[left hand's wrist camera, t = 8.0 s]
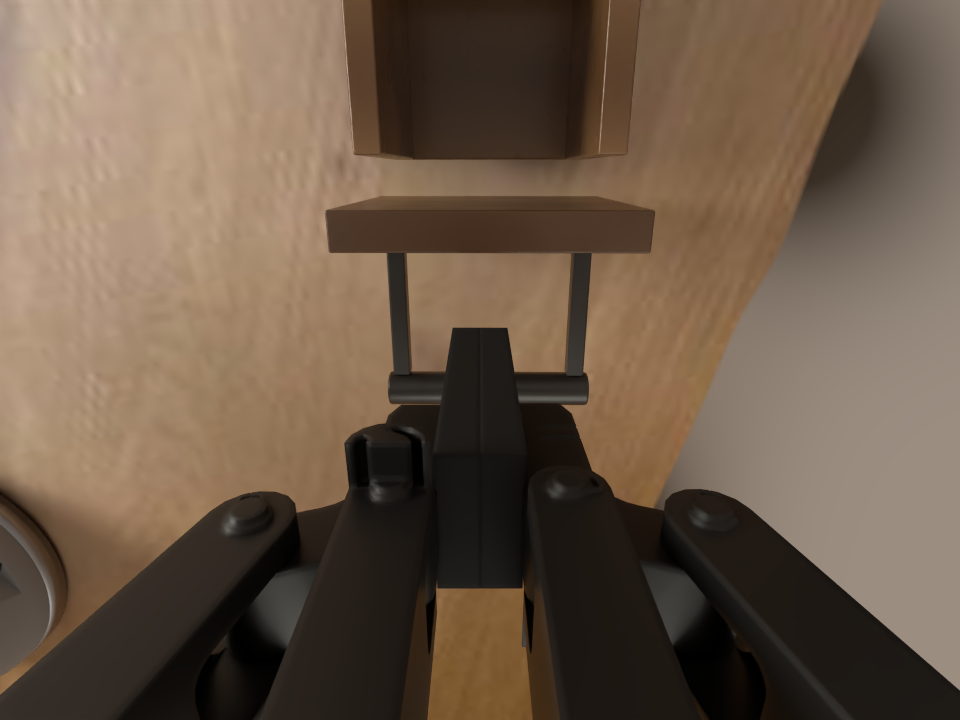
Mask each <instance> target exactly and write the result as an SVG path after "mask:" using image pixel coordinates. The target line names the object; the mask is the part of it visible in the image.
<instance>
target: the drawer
mask: <svg viewBox="0 0 960 720" xmlns="http://www.w3.org/2000/svg"><path fill="white" fill-rule="evenodd" d="M341 3H342V16H343V29H344V42H345V55H346V68H347V81H348V94H349V107H350V119H351V132H352V145H353V153H354V154H355V155H361V156H370V157H379V158H388V159H396V160H581V159H590V158H599V157H609V156H618V155H626V154H627V150H628V138H629V127H630V116H631V105H632V93H633V82H634V71H635V59H636V48H637V37H638V26H639V14H640V3H641V0H341ZM325 217H326V227H327V237H328V247H329V252H330V253H387V266H388V283H389V299H390V316H391V332H392V349H393V365H394V371H392V372H391V373H390V375H389V380H388V397H389V401H390V403H391V404H441V398H442V392H443V386H444V379H445V373H446V372H421V371H411V370H412V358H411V338H410V317H409V296H408V275H407V254H406V253H571V270H570V287H569V304H568V321H567V338H566V355H565V372H514V373H515V379H516V386H517V392H518V398H519V403H559V404H560V405H586V404H587V401H588V396H589V382H588V377H587V374H586V373H585V372H583V366H584V353H585V339H586V325H587V311H588V297H589V283H590V269H591V255H592V253H650V252H651V244H652V235H653V226H654V217H655V211H654V210H650V209H646V208H642V207H638V206H634V205H630V204H626V203H622V202H618V201H613V200H609V199H605V198H601V197H597V196H381V197H377V198H373V199H369V200H365V201H361V202H357V203H353V204H349V205H345V206H341V207H337V208H333V209H329V210H326V211H325Z"/></svg>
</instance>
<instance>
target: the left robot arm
mask: <svg viewBox="0 0 960 720" xmlns="http://www.w3.org/2000/svg"><path fill="white" fill-rule="evenodd" d="M344 444H345V453H346V462H347V472H348V481H349V490H348V493H347V495H346V498H345V500H343V501H341V502H338V503H336V504H333V505H330V506H326V507H323V508H318V509H313V510H308V511H304V512H299V513H296V506H295V503H294V502H293V501H292V500H291V499H290V498H289V497H288V496H286V495H283V494H280V493H277V492H260V491H259V492H252V493H247V494H243V495H240V496H238V497H235V498H233V499H230V500H228V501H225V502H224V503H222V504H221V505H219V506H218V507H216V508H215V509H213V510H212V511H210V512H209V513H208V514H207V515H206V516H204V517H203V518H202V519H201V520H200V521H199V522H198V523H196V524H195V525H194V526H193V527H192V528H191V529H190V530H188V531H187V532H186V533H185V534H184V535H183V536H182V537H180V538H179V539H178V540H177V541H176V542H175V543H174V544H172V545H171V546H170V547H169V548H168V549H167V550H166V551H164V552H163V553H162V554H161V555H160V556H159V557H158V558H156V559H155V560H154V561H153V562H152V563H151V564H150V565H148V566H147V567H146V568H145V569H144V570H143V571H142V572H140V573H139V574H138V575H137V576H136V577H135V578H134V579H132V580H131V581H130V582H129V583H128V584H127V585H126V586H124V587H123V588H122V589H121V590H120V591H119V592H118V593H116V594H115V595H114V596H113V597H112V598H111V599H110V600H108V601H107V602H106V603H105V604H104V605H103V606H102V607H100V608H99V609H98V610H97V611H96V612H95V613H94V614H92V615H91V616H90V617H89V618H88V619H87V620H85V621H84V622H83V623H82V624H81V625H80V626H79V627H77V628H76V629H75V630H74V631H73V632H72V633H71V634H69V635H68V636H67V637H66V638H65V639H64V640H63V641H61V642H60V643H59V644H58V645H57V646H56V647H55V648H53V649H52V650H51V651H50V652H49V653H48V654H47V655H45V656H44V657H43V658H42V659H41V660H40V661H39V662H37V663H36V664H35V665H34V666H33V667H32V668H31V669H29V670H28V671H27V672H26V673H25V674H24V675H23V676H21V677H20V678H19V679H18V680H17V681H16V682H15V683H13V684H12V685H11V686H10V687H9V688H8V689H7V690H5V691H4V692H3V693H2V694H1V695H0V720H427V716H428V705H429V694H430V683H431V672H432V661H433V650H434V639H435V628H436V617H437V604H436V585H437V586H438V588H522V586H523V582H524V604H523V630H522V647H526V649H527V660H528V671H529V682H530V693H531V704H532V715H533V720H960V690H958V689H957V688H956V687H955V686H954V685H953V684H952V683H950V682H949V681H948V680H947V679H946V678H945V677H943V676H942V675H941V674H940V673H939V672H938V671H937V670H935V669H934V668H933V667H932V666H931V665H930V664H928V663H927V662H926V661H925V660H924V659H923V658H922V657H920V656H919V655H918V654H917V653H916V652H915V651H914V650H912V649H911V648H910V647H909V646H908V645H907V644H905V643H904V642H903V641H902V640H901V639H900V638H898V637H897V636H896V635H895V634H894V633H893V632H892V631H890V630H889V629H888V628H887V627H886V626H885V625H884V624H882V623H881V622H880V621H879V620H878V619H877V618H875V617H874V616H873V615H872V614H871V613H870V612H868V611H867V610H866V609H865V608H864V607H863V606H862V605H860V604H859V603H858V602H857V601H856V600H855V599H853V598H852V597H851V596H850V595H849V594H848V593H847V592H845V591H844V590H843V589H842V588H841V587H840V586H839V585H837V584H836V583H835V582H834V581H833V580H832V579H830V578H829V577H828V576H827V575H826V574H825V573H824V572H822V571H821V570H820V569H819V568H818V567H817V566H815V565H814V564H813V563H812V562H811V561H810V560H808V559H807V558H806V557H805V556H804V555H803V554H802V553H800V552H799V551H798V550H797V549H796V548H795V547H794V546H792V545H791V544H790V543H789V542H788V541H787V540H785V539H784V538H783V537H782V536H781V535H780V534H778V533H777V532H776V531H775V530H774V529H773V528H772V527H770V526H769V525H768V524H767V523H766V522H765V521H763V520H762V519H761V518H760V517H759V516H758V515H757V514H755V513H754V512H753V511H752V510H751V509H750V508H748V507H747V506H745V505H744V504H742V503H741V502H739V501H738V500H736V499H734V498H731V497H729V496H726V495H724V494H721V493H719V492H715V491H708V490H703V489H687V490H682V491H679V492H676V493H673V494H672V495H671V496H670V497H669V498H668V499H667V500H666V501H665V506H664V511H662V510H658V509H653V508H648V507H643V506H638V505H635V504H631V503H627V502H625V501H622V500H620V499H618V498H615V497H614V495H613V492H612V490H611V487H610V486H609V485H608V483H607V482H606V480H605V479H604V478H602V477H601V476H599V475H598V474H596V473H595V472H593V471H592V469H591V467H590V464H589V461H588V458H587V455H586V453H585V450H584V447H583V444H582V441H581V439H580V436H579V433H578V430H577V428H576V425H575V422H574V419H573V416H572V414H571V413H570V412H569V411H568V410H566V409H565V408H564V407H563V406H561V405H560V404H559V403H519V398H518V392H517V386H516V379H515V373H514V367H513V361H512V354H511V348H510V342H509V336H508V329H507V328H453V329H452V336H451V342H450V348H449V354H448V361H447V367H446V373H445V379H444V386H443V392H442V398H441V404H440V405H401V406H399V407H398V408H397V409H396V410H395V411H393V412H392V413H391V414H390V415H388V418H387V421H386V424H377V425H373V426H370V427H366V428H363V429H361V430H359V431H358V432H356V433H354V434H352V435H351V436H350V437H349V438H348V440H347V441H346V442H345V443H344ZM66 599H67V587H66V580H65V576H64V572H63V569H62V566H61V564H60V561H59V559H58V557H57V555H56V553H55V551H54V549H53V548H52V546H51V544H50V543H49V541H48V540H47V538H46V537H45V536H44V535H43V533H42V532H41V531H40V529H39V528H38V527H37V526H36V525H35V524H34V523H33V522H32V521H31V520H30V519H29V518H28V517H27V516H26V515H25V514H24V513H23V512H22V511H21V510H20V509H18V508H17V507H16V506H15V505H14V504H12V503H11V502H10V501H8V500H7V499H6V498H4V497H3V496H1V495H0V676H2V675H3V674H5V673H7V672H8V671H10V670H11V669H13V668H14V667H15V666H17V665H18V664H19V663H20V662H22V661H23V660H24V659H25V658H26V657H27V656H29V655H30V654H31V653H32V652H33V651H34V650H35V649H36V648H37V647H38V646H39V645H40V644H41V643H42V642H43V641H44V640H45V639H46V637H47V636H48V635H49V634H50V633H51V632H52V631H53V630H54V629H55V627H56V626H57V624H58V623H59V621H60V620H61V617H62V615H63V613H64V609H65V606H66Z"/></svg>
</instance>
